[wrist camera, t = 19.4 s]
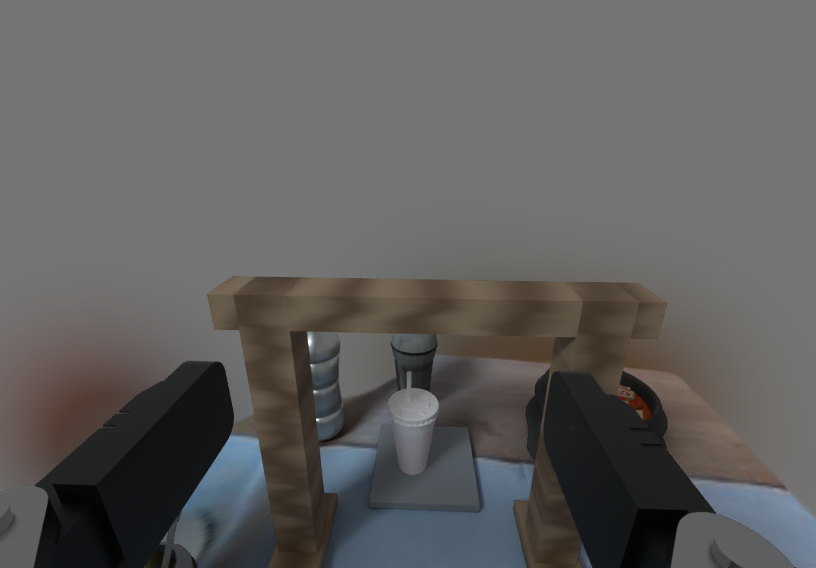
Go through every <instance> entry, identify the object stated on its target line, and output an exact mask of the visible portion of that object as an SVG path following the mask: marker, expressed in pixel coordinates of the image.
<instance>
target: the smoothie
mask: <svg viewBox="0 0 816 568" xmlns="http://www.w3.org/2000/svg"><path fill="white" fill-rule="evenodd" d="M411 376H412V372H411V371H407V389H403V390H400V391H398V392H396V393H394V394H393V395H392V396H391V397H390V399H389V401H388V414H389V416H390V418H391V420H392V426H393V432H394V439H395V445H396V451H397V457H398V463H399V467H400V469H401V470H402V471H403V472H404V473H406V474H409V475H417V474H420V473H421V472H423V471H424V470H425V468H426V465H427V460H428V454H429V449H430V444H431V438H432V433H433V428H434V423H435V419H436V418H437V416H438V414H439V402H438V400H437V398H436V397H435V396H434V395H433V394H432V393H430V392H428V391H426V390H423V389H419V388H411Z"/></svg>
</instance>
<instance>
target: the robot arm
mask: <svg viewBox="0 0 816 568" xmlns="http://www.w3.org/2000/svg"><path fill="white" fill-rule="evenodd" d="M233 422H234V412H233V407H232V402H231V397H230V392H229V387H228V382H227V377H226V372H225V369H224V366H223V364H222V363H220V362H211V361H209V362H208V361H186V362H184V363H183V364H182V365H180V366H179V367H178V368H177V369H176V370H175V371H174V372H173V373H172V374H171V375H170V376H168V378H166V379H165V381H161V382H159V383H157V384H156V385H154V386H152V387H150V388H149V389H147V390H145V391H143V392H141V393H140V394H138V395H137V396H135V397H134V398H133V399H132V400H131V401H130V402H129V403H128V404H126V405H125V406H124V407H123V408H122V409H121V410H120V411H119V414H115V415H114V416H113V417H112V418H111V419H110V420H108V421H107V422H106V423H105V424H104V425H103V428H102V429H98V430H97V431H96V432H95V433H94V434H93V435H91V436H90V437H89V438H88V439H87V440H86V441H85V442H84V443H82V444H81V445H80V446H79V447H78V448H77V449H76V450H74V451H73V452H72V453H71V454H70V455H69V456H68V457H66V458H65V459H64V460H63V461H62V462H61V463H60V464H59V465H58V466H56V467H55V468H54V469H53V470H52V471H51V472H50V473H49V474H47V475H46V476H45V477H44V478H43V479H42V480H40V481H39V482H38V483H37V484H36V485H35V486H24V487H17V488H12V489H8V490H5V491H2V492H0V568H144V567H145V565H146V564H147V562H148V560H149V559H150V557H151V556H152V554H153V553H154V551H155V550H156V548H157V547H158V545H159V544H160V542H161V541H162V539H163V537H164V536H165V534H166V533H167V532H168V530H169V529H170V527H171V526H172V524H173V522H174V521H175V519H176V518H177V516H178V515H179V513H180V512H181V510H182V509H183V507H184V506H185V504H186V503H187V501H188V500H189V498H190V497H191V495H192V494H193V492H194V491H195V489H196V487H197V486H198V484H199V483H200V481H201V480H202V478H203V477H204V475H205V474H206V472H207V471H208V469H209V468H210V466H211V465H212V463H213V462H214V460H215V459H216V457H217V456H218V454H219V453H220V451H221V449H222V448H223V446H224V445H225V443H226V442H227V440H228V439H229V437H230V434H231V431H232V428H233ZM543 435H544V443H545V447H546V451H547V453H548V456H549V459H550V461H551V464H552V466H553V469H554V471H555V474H556V476H557V479H558V481H559V484H560V487H561V489H562V492H563V494H564V497H565V499H566V502H567V504H568V507H569V509H570V512H571V515H572V517H573V520H574V522H575V525H576V527H577V530H578V532H579V535H580V537H581V540H582V542H583V545H584V548H585V550H586V553H587V555H588V558H589V560H590V563H591V565H592V568H795V567H794V566H793V565H792V564H791V563H790V561H789V560H788V559H787V558H786V557H785V556H784V555H783V554H782V553H781V552H780V551H779V550H778V549H777V548H776V547H775V546H774V545H773V544H771V543H770V542H769V541H768V540H766V539H765V538H764V537H762V536H761V535H760V534H758V533H757V532H755V531H753V530H752V529H750V528H748V527H747V526H745V525H743V524H741V523H739V522H737V521H735V520H732V519H730V518H727V517H724V516H721V515H718V514H716V512H715V511H714V510H713V509H712V507H711V506H710V505H709V503H708V502H707V501H706V500H705V498H704V497H703V496H702V494H701V493H700V492H699V491H698V489H697V488H696V487H695V486H694V484H693V483H692V482H691V480H690V479H689V478H688V477H687V475H686V474H685V473H684V471H683V470H682V469H681V468H680V466H679V465H678V464H677V463H676V461H675V460H674V459H673V457H672V456H671V455H670V454H669V452H668V451H667V450H666V448H663V447H662V443H661V442H660V441H659V440H658V438H657V437H656V436H655V434H654V433H653V432H650V428H649V427H648V425H647V424H646V423H645V422H644V420H643V419H642V418H641V417H640V415H639V414H638V413H637V411H636V410H635V409H633V408H632V407H631V406H629V405H628V404H626V403H625V402H624V401H622V400H621V399H620V398H618V397H617V396H615V395H613V394H605V393H604V392H603V390H602V389H601V387H600V386H599V385H598V383H597V382H596V380H595V379H594V378H593V376H592V375H591V374H590V373H589V372H573V371H555V372H553V374H552V376H551V380H550V386H549V392H548V399H547V405H546V411H545V417H544V424H543Z"/></svg>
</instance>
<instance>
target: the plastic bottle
mask: <svg viewBox="0 0 816 568" xmlns="http://www.w3.org/2000/svg"><path fill="white" fill-rule="evenodd" d="M307 334H308V344H309V354H310V363H311V373H312V382H313V392H314V401H315V411H316V420H317V430H318V440H319V441H326V440H329V439H332V438H333V437H335V436H336V435H337V434H338V433H339V432H340V431H341V429H342V428H343V426H344V423H345V409H344V405H343V401H342V398H341V393H340V387H339V357H340V339H339V337H338V334H337V333H336V332H307Z"/></svg>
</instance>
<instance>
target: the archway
mask: <svg viewBox="0 0 816 568" xmlns="http://www.w3.org/2000/svg"><path fill="white" fill-rule="evenodd" d="M207 296H208V301H209V306H210V311H211V316H212V321H213V326H214V329H215V330H216V329H217V330H239V332H240V337H241V343H242V349H243V354H244V360H245V366H246V371H247V377H248V383H249V388H250V393H251V400H252V405H253V411H254V417H255V422H256V428H257V433H258V439H259V445H260V450H261V456H262V462H263V467H264V473H265V479H266V484H267V490H268V496H269V501H270V507H271V513H272V518H273V524H274V530H275V535H276V541H277V544H276V546H275V549H274V552H273V554H272V557H271V560H270V563H269V565H268V568H322V566H323V562H324V557H325V553H326V549H327V545H328V541H329V537H330V532H331V528H332V524H333V520H334V516H335V512H336V507H337V503H338V501H337V494H336V493H324V487H323V478H322V468H321V459H320V449H319V440H318V430H317V420H316V411H315V401H314V392H313V382H312V373H311V363H310V354H309V344H308V334H307V332H351V333H397V334H442V335H443V334H444V335H491V336H534V337H555V342H554V348H553V354H552V361H551V367H550V373H549V379H548V386H547V392H546V398H545V404H544V410H543V417H542V423H541V429H540V435H539V442H538V448H537V454H536V460H535V467H534V473H533V479H532V485H531V491H530V498H529V501H520V500H514V507H513V511H514V515H515V519H516V524H517V528H518V532H519V536H520V540H521V544H522V549H523V553H524V557H525V561H526V565H527V568H582V567H581V564H580V561H579V559H578V554H579V550H580V545H581V541H582V540H581V537H580V535H579V532H578V530H577V527H576V525H575V522H574V520H573V517H572V515H571V512H570V509H569V507H568V504H567V502H566V499H565V497H564V494H563V492H562V489H561V487H560V484H559V481H558V479H557V476H556V474H555V471H554V469H553V466H552V464H551V461H550V459H549V456H548V453H547V451H546V447H545V443H544V435H543V424H544V417H545V411H546V405H547V399H548V392H549V386H550V380H551V376H552V374H553V372H555V371H573V372H589V373H590V374H591V375H592V376H593V378H594V379H595V380H596V382H597V383H598V385H599V386H600V387H601V389H602V390H603V392H604V393H605V394H613V395H615V396H617V392H618V388H619V384H620V380H621V376H622V372H623V367H624V363H625V359H626V355H627V351H628V346H629V343H630V339H658V336H659V332H660V329H661V325H662V321H663V318H664V314H665V310H666V306H667V302H666V301H664V300H663V299H661V298H660V297H658V296H657V295H655V294H654V293H652V292H651V291H649V290H648V289H646V288H645V287H643V286H642V285H640V284H639V283H602V282H599V283H598V282H543V281H484V280H483V281H482V280H421V279H419V280H418V279H362V278H360V279H359V278H301V277H296V278H295V277H240V276H232V277H231V278H229V279H228V280H227V281H225V282H224V283H222V284H221V285H219V286H218V287H217V288H215V289H214V290H213V291H211V292H209V293H208V294H207Z"/></svg>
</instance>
